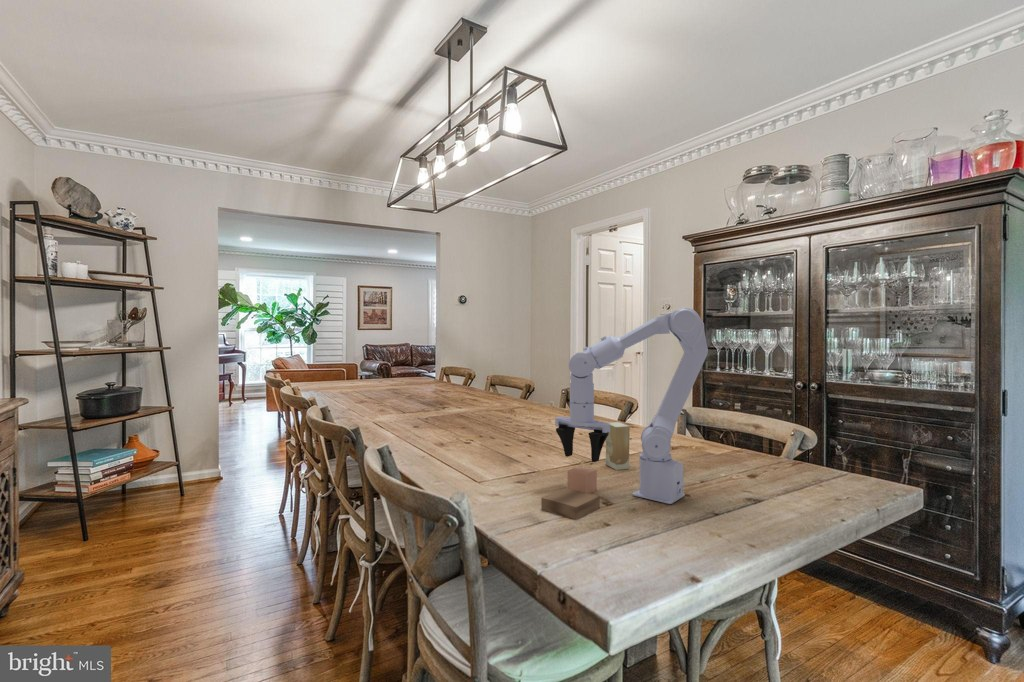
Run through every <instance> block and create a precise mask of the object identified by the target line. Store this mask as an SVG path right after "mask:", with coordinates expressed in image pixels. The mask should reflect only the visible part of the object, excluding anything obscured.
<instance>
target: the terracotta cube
mask: <svg viewBox="0 0 1024 682" xmlns="http://www.w3.org/2000/svg"><path fill="white" fill-rule="evenodd" d="M597 476H598V474H597V469H594V468H590V467H583V466H580V465H579V466H576V467H574V468H573V467H572V468H570V469H569V470H567V488H569V489H573V490H577V491H581V492H585V493H589V494H592V493H594V492H596V491H597V485H598V484H597V481H598V479H597V478H598V477H597Z"/></svg>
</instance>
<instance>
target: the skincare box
mask: <svg viewBox="0 0 1024 682" xmlns="http://www.w3.org/2000/svg"><path fill="white" fill-rule="evenodd" d="M608 423H609V424H610V432H609V435H608V436H607V438H606V440H605V465H607V466H608V467H610V468H612V469H614V471H619V470H628V469H630V431H631V429H630V425H627V424H626V423H625V424H624V423H623V422H620V421H615V422H608Z"/></svg>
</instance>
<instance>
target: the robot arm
mask: <svg viewBox="0 0 1024 682" xmlns="http://www.w3.org/2000/svg"><path fill="white" fill-rule="evenodd" d="M670 333H671V334H672V335H674V337H675V338H677V340H678V343H679V344H680V347H681V348H682V351H683V354H682V357H681V359H680V361H679V363H678V365H677V368H676V370H675V371H674V374H673V376H672V379H671V380H670V383H669V385H668V387H667V389H666V392H665V394H664V396H663V398H662V400H661V403H660V405H659V407H658V409H657V412H656V413H655V415H654V417H653V418H652V420H651V422H650V424H648V426H646V427H645V428H644V429H643V430H642V432H641V435H640V439H641V449H642V451H641V452H640V453H639V455H638V456H639V459H638V460H639V463H638V464H639V489H638V490H636V491H634V492H632V494H631V495H632V496H635V497H638V498H642V499H647V500H651V501H655V502H659V503H663V504H667V505H672V504H674V503H675V502H677V501H678V500H680V499H682V498H684V497H685V495H686V494H685V493H684V466H683V463H682V462H681V461H678V460H675V459H673V458H672V457H673V456H672V454H671V453H670V452H671V449H672V444H671V442H672V438H673V435H674V433H675V432H674V431H675V428H676V423H677V421H678V419H679V417H680V416H681V413H682V411H683V408H684V406H685V404H686V403H687V400H688V399H689V398H688V397H689V395H690V393H691V392H692V388H693V386H694V384H695V382H696V381H697V378H698V375H699V374H700V372H701V370H702V367H703V365H704V364H705V361H706V359H707V356H708V353H709V349H708V344H707V337H706V333H705V323H704V322H703V320H702V318H701V317H700V315H699V314H698V312H697V311H695V310H694V309H693V308H690V307H680V308H678V309H676V310H674V311H672V312H671V311H670V312H668V313H665V314H662V315H660V316H655V317H653V318H652V319H650V320H648V321H647V322H645V323H643V324H641V325H640V326H638V327H635V328H634V329H632V330H630V331H629V332H627V333H625V334H623V335H621V336H620V337H617V336H613V335H610V336H609V335H608V336H606V335H605V336H602V337H601V338H600V341H599V342H597V343H595V344H593V345H591V346H589V347H588V346H585V347H583V351H579V352H576V353H575V354H574V355H573V356H571V358H570V359H569V362H568V369H569V371H570V377H569V378H570V379H569V380H570V383H569V417H565V416H556V417H555V419H554V425H555V426H558V427H556V428H555V432H556V433H557V435H558V437H559V439H560V442H561V444H562V447H563V448H562V449H563V452H564V455H565V457H566V458H569V457H571V456H573V452H574V435H575V431H576V429H581V430H582V429H583V430H588V431H590V432H588V436H589V441H590V451H591V454H590V455H591V457H590V458H591V462H592V463H596V462H599V461H600V456H601V453H602V449H603V446H604V444H605V443H606V438H607V436H608V435H609V432H610V424H609V423H610V422H604V421H599V420H595V411H594V410H595V407H594V406H595V403H594V402H595V398H594V397H595V389H594V388H595V384H594V380H593V379H594V374H593V372H594V371H595V369H597V370H600V369H601V368H604V367H606V366H608V365H610V364H612V363H613V362H615V361H618V360H620V359H621V358H624V357H623V356H624V354H625V350H627V349H628V348H630V347H632V346H634V345H637V344H638V343H641V342H642V341H645V340H647V339H649V338H650V337H653V336H656V335H665V334H666V335H667V334H668V335H669V334H670Z"/></svg>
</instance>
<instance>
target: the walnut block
mask: <svg viewBox="0 0 1024 682" xmlns="http://www.w3.org/2000/svg"><path fill="white" fill-rule="evenodd" d="M600 497H601V496H600V495H597V494H596V495H595V494H592V493H585V492H581V491H577V490H573V489H569V488H568V487H564V488H562V489H560V490H557V491H554V492H552V493H549V494H548V495H547V494H546V495H545V496H542V497H541V511H545V512H548V513H551V514H554V515H558V516H562V517H564V518H569V519H572V520H576V521H577V520H579V519H581V518H584V517H585V516H587V515H589V514H592V513H593V512H594V511H598V510H599V509H600V508H601V504H600V501H601V500H600V499H601V498H600Z"/></svg>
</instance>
